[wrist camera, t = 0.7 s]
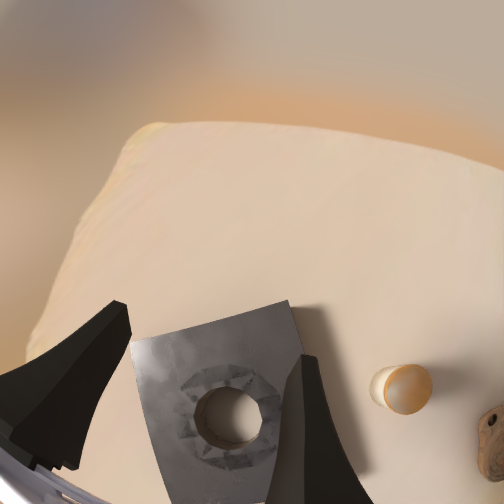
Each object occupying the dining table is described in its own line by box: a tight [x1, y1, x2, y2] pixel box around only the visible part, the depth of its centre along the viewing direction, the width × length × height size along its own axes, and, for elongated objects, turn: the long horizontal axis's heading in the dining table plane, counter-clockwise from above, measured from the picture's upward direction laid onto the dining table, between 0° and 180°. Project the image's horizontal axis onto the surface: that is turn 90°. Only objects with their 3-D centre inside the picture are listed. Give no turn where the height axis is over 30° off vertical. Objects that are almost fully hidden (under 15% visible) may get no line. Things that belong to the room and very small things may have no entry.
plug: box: [369, 365, 432, 415], centre depth 21 cm, size 4×4×6 cm
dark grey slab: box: [130, 300, 305, 504], centre depth 24 cm, size 18×16×3 cm
